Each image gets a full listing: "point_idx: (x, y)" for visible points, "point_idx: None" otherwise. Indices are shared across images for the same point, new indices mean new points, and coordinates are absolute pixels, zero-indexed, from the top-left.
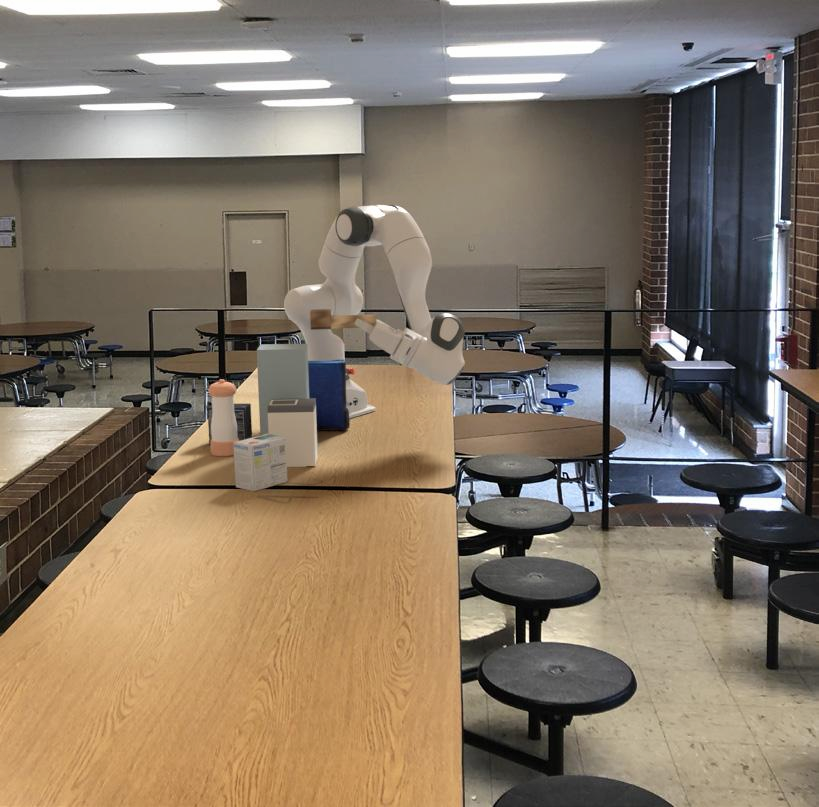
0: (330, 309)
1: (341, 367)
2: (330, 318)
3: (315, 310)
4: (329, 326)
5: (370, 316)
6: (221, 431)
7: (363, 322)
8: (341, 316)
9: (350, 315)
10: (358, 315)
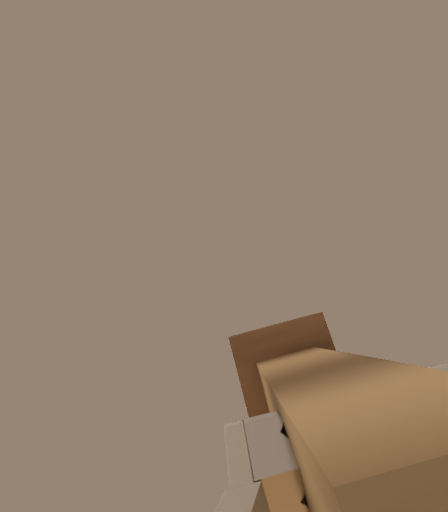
0: (311, 315)
1: None
2: (252, 372)
3: (271, 325)
4: (249, 416)
5: (306, 444)
6: None
7: (225, 506)
8: (265, 368)
9: (325, 362)
10: (336, 374)
